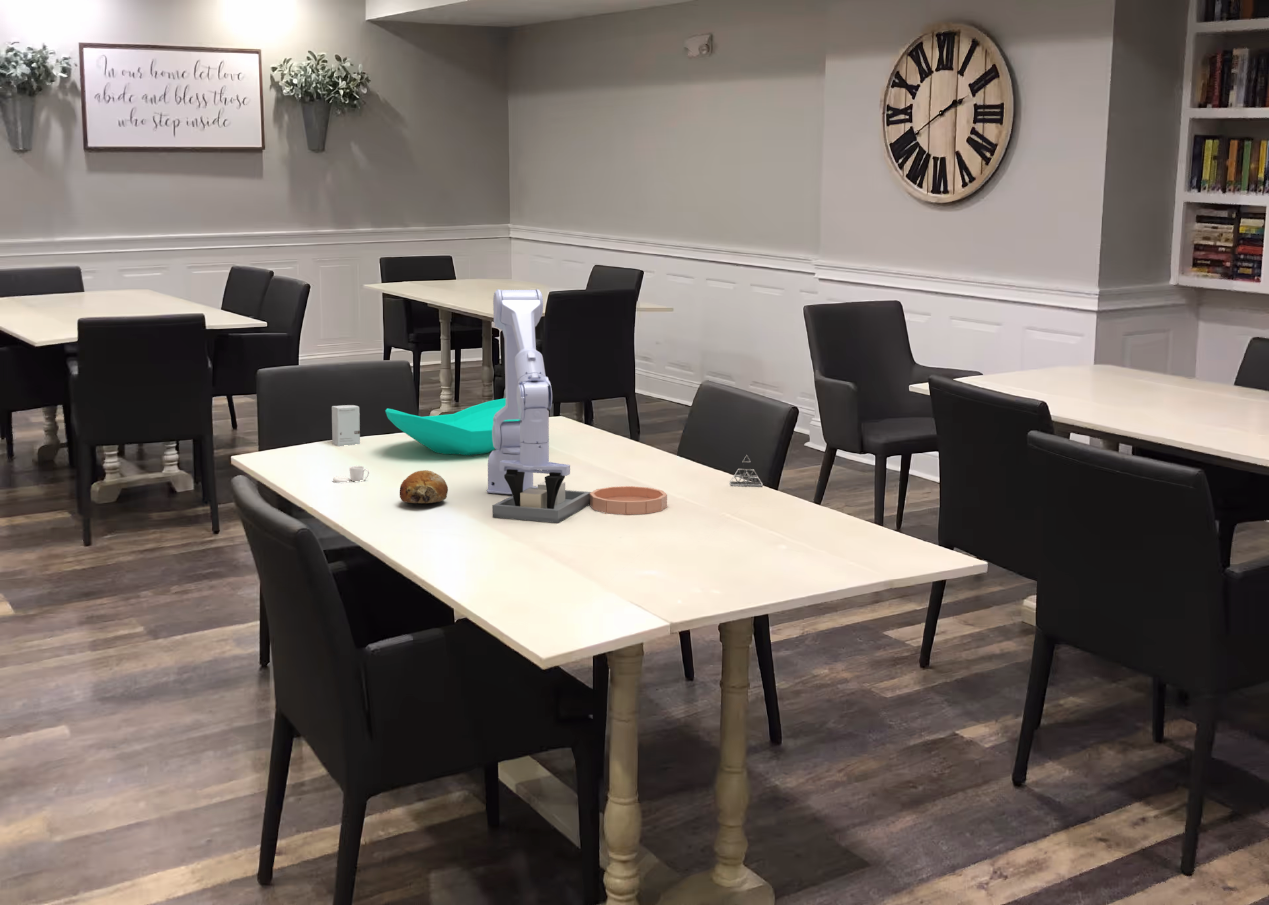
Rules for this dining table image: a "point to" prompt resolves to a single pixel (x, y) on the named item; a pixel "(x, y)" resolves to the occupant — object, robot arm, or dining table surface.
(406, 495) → the bread roll
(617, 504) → the bowl
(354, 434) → the skincare box
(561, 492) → the greyish beige cube
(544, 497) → the cream matte cube
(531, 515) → the parts tray
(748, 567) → the dining table surface
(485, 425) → the table top decor
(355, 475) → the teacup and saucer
